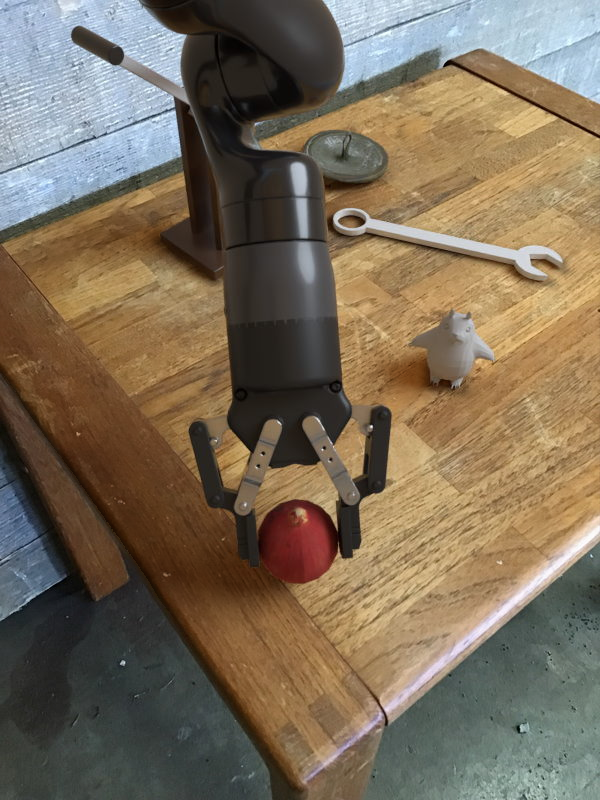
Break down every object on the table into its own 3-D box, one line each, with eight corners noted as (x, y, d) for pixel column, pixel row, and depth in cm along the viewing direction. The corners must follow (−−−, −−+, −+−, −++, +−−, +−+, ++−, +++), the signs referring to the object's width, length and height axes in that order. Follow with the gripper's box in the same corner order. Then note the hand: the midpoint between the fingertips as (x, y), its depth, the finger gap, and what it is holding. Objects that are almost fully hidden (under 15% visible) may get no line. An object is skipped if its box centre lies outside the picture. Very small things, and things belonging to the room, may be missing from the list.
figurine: (399, 383, 67) (409, 321, 61) (409, 338, 71) (419, 276, 65) (488, 399, 66) (507, 338, 60) (493, 353, 69) (512, 291, 63)
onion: (243, 562, 55) (236, 506, 49) (300, 518, 58) (300, 459, 52) (295, 617, 53) (294, 565, 47) (352, 568, 55) (358, 512, 49)
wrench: (557, 284, 76) (563, 256, 78) (559, 279, 75) (565, 251, 78) (326, 232, 81) (340, 207, 84) (327, 227, 80) (340, 202, 83)
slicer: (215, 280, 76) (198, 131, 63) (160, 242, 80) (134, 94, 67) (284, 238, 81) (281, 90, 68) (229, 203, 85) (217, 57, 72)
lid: (298, 159, 93) (289, 126, 89) (372, 130, 93) (366, 96, 89) (323, 210, 87) (314, 177, 83) (402, 180, 87) (396, 145, 83)
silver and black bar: (103, 67, 55) (116, 36, 55) (65, 45, 58) (77, 15, 57) (231, 137, 69) (242, 113, 69) (196, 118, 71) (207, 94, 71)
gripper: (168, 323, 45) (193, 589, 47) (398, 306, 46) (415, 566, 48) (178, 325, 53) (199, 554, 54) (376, 310, 54) (391, 535, 55)
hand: (300, 559), depth 51 cm, fingers closed on onion, 5 cm apart
